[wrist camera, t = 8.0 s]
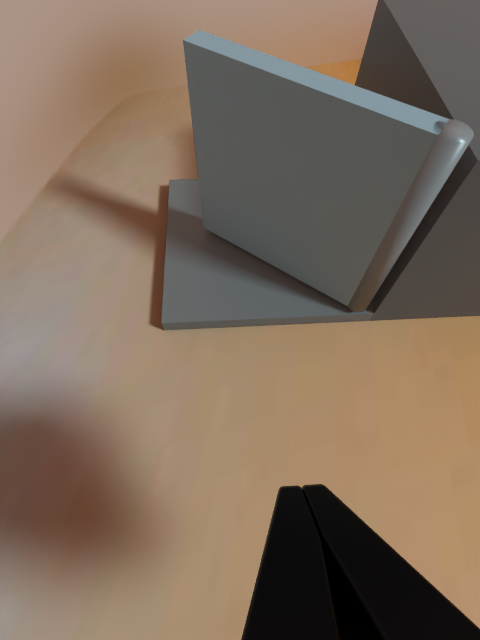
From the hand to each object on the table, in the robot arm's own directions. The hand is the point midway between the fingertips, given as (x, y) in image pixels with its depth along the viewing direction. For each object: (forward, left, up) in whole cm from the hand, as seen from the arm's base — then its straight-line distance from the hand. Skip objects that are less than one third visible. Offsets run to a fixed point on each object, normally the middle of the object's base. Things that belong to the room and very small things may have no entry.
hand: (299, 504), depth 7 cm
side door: (+4, -12, -9) cm, 16 cm away
